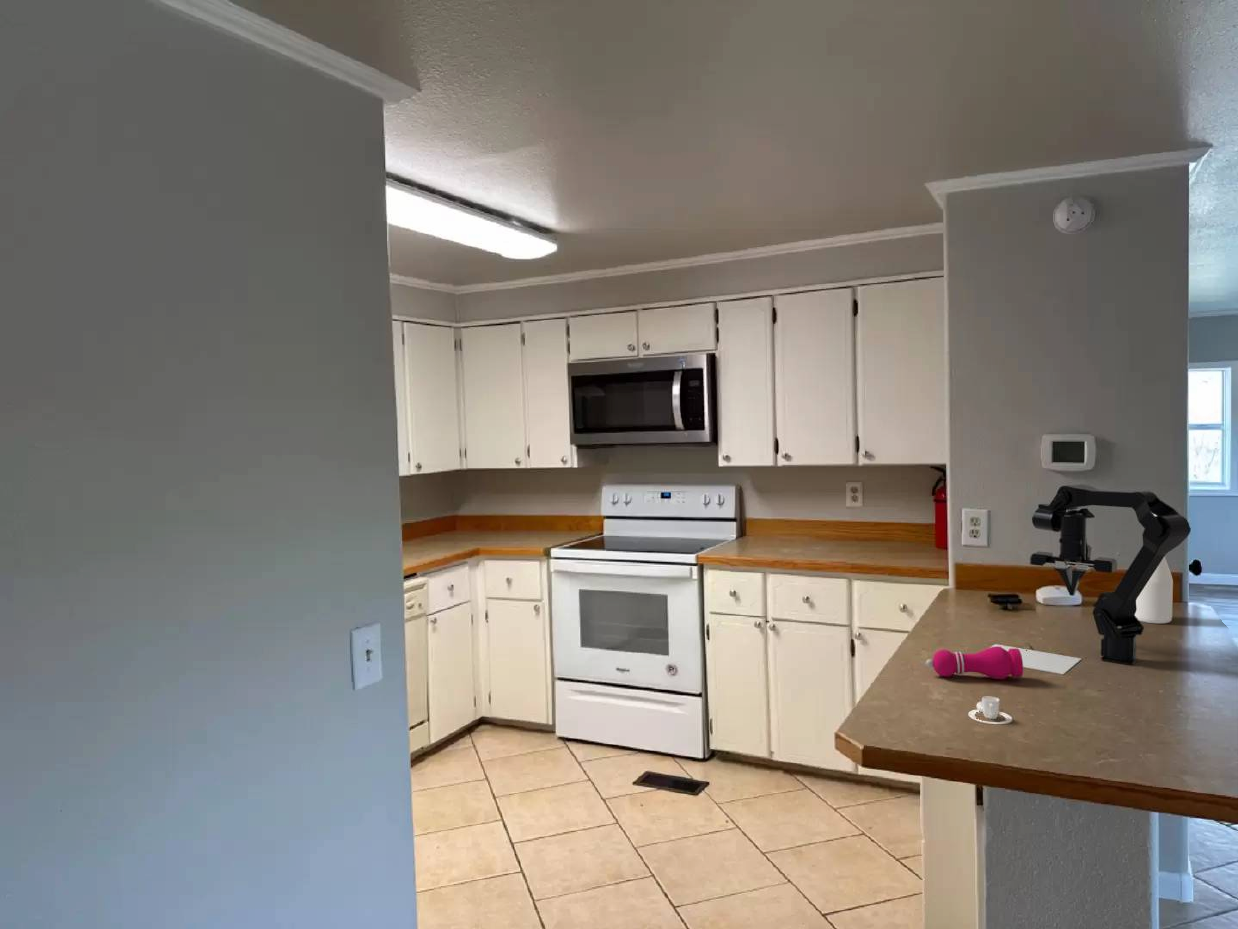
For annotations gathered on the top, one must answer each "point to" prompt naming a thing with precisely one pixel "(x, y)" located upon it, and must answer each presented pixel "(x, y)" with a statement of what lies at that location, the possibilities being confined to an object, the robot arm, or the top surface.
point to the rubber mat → (1044, 660)
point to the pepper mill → (979, 662)
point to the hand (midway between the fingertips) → (1072, 595)
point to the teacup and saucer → (989, 710)
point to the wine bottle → (1156, 597)
